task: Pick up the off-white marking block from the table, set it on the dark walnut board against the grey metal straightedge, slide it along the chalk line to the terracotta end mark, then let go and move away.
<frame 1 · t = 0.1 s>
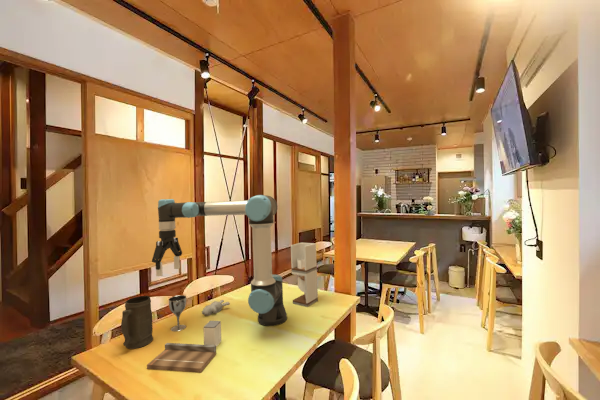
hand: (168, 272, 135), 28 cm above the table, tool pointing down, fingers open, 13 cm apart
bunny figurine: (215, 312, 154), on the table
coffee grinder: (305, 302, 163), on the table
marking block: (212, 344, 118), on the table
beer stein: (136, 345, 119), on the table
wine glass: (178, 328, 134), on the table
board: (183, 361, 106), on the table
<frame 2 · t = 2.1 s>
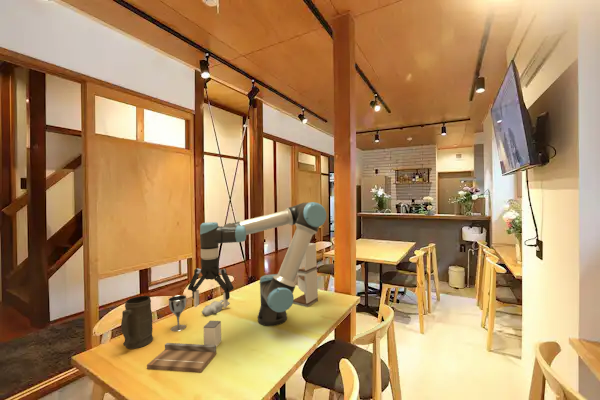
hand: (211, 306, 118), 17 cm above the table, tool pointing down, fingers open, 13 cm apart
nothing on the table moved.
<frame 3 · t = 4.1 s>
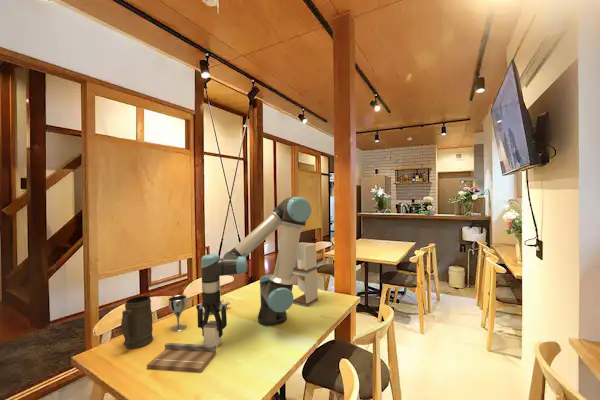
hand: (212, 343, 118), 0 cm above the table, tool pointing down, fingers closed on marking block, 5 cm apart
marking block: (212, 344, 118), on the table, touching gripper
everything else where it was.
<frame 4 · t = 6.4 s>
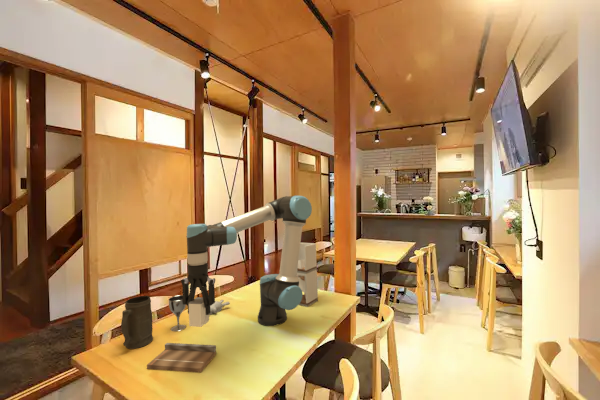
hand: (199, 322, 106), 15 cm above the table, tool pointing down, fingers closed on marking block, 5 cm apart
marking block: (199, 322, 106), point 15 cm above the table, touching gripper
everything else where it was.
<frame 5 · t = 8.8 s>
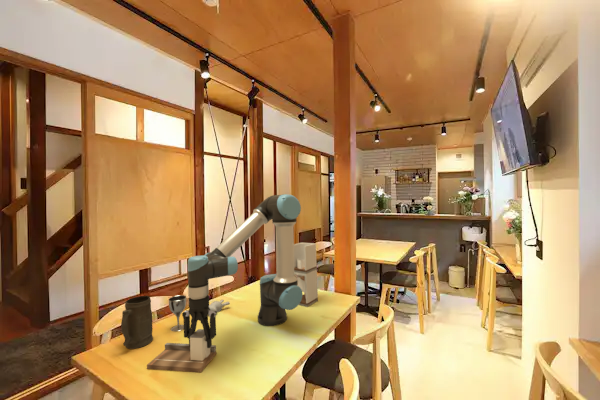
hand: (200, 355, 106), 2 cm above the table, tool pointing down, fingers closed on marking block, 5 cm apart
marking block: (200, 355, 106), point 2 cm above the table, touching gripper
everything else where it was.
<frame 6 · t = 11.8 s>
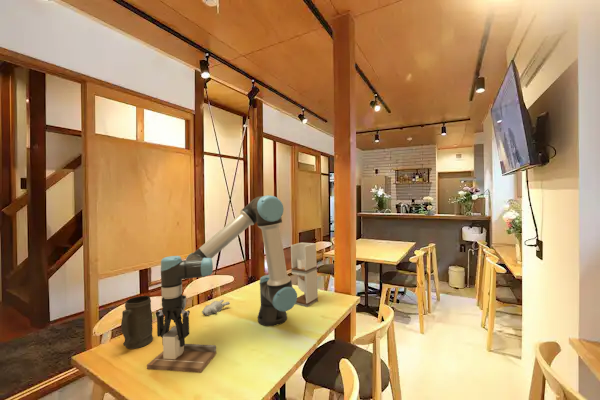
hand: (174, 353, 107), 2 cm above the table, tool pointing down, fingers closed on marking block, 5 cm apart
marking block: (174, 354, 107), point 2 cm above the table, touching gripper
everything else where it was.
when the fingers open (2 cm above the table, at t = 13.6 s): marking block stays where it is, resting on board.
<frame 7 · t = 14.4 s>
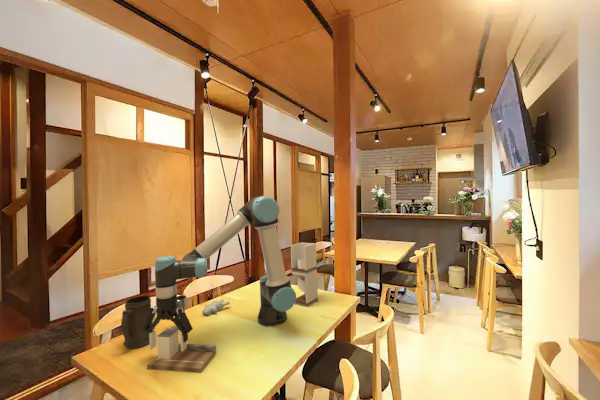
hand: (168, 348, 108), 4 cm above the table, tool pointing down, fingers open, 13 cm apart
marking block: (168, 354, 108), point 2 cm above the table, touching board
everything else where it was.
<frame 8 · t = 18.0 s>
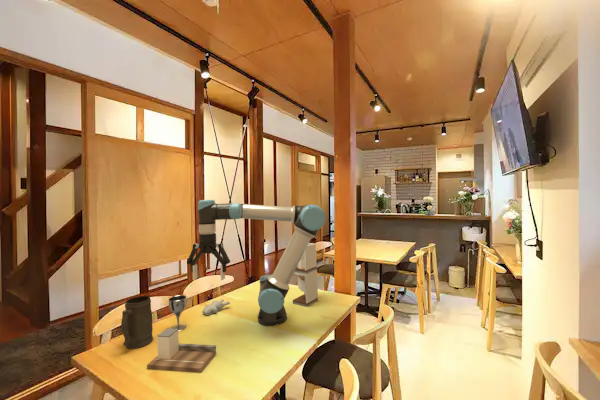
hand: (209, 279, 124), 27 cm above the table, tool pointing down, fingers open, 13 cm apart
nothing on the table moved.
at the end: marking block 0.1 cm from the target spot, point 1.5 cm above the table; marking block tilted 1°; marking block touching board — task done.
